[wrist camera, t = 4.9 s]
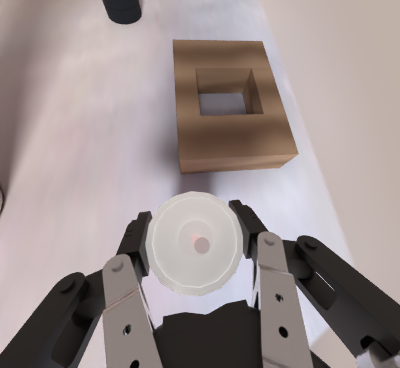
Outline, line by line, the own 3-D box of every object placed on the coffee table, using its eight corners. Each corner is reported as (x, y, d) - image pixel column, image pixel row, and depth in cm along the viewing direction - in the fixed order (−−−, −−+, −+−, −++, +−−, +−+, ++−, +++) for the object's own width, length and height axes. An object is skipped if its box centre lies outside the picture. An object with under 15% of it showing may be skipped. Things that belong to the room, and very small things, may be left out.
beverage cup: (214, 207, 19) (272, 150, 6) (221, 260, 17) (331, 357, 4) (165, 212, 18) (103, 160, 5) (167, 267, 17) (79, 412, 3)
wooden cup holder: (279, 167, 21) (298, 154, 17) (181, 173, 20) (179, 160, 16) (252, 67, 27) (262, 41, 23) (175, 67, 26) (172, 39, 22)
